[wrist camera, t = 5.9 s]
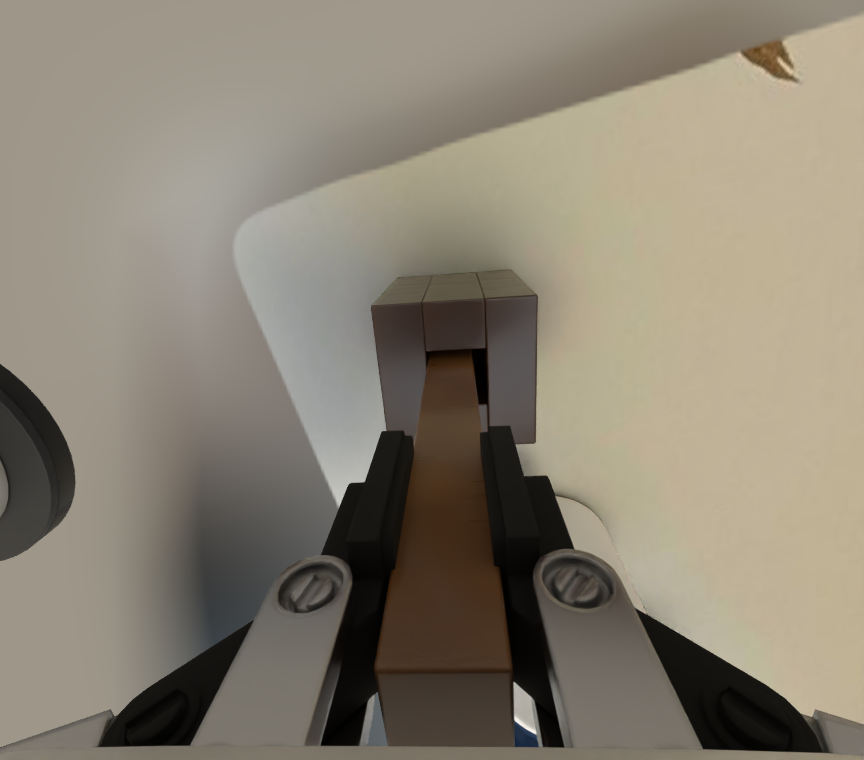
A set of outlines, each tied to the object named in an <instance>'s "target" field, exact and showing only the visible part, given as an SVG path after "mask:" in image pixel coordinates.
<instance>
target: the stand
mask: <svg viewBox="0 0 864 760" xmlns="http://www.w3.org/2000/svg"><path fill="white" fill-rule="evenodd" d="M371 312H372V320H373V328H374V336H375V343H376V351H377V359H378V367H379V375H380V383H381V391H382V398H383V406H384V414H385V422H386V430H387V431H398V430H404V433H405V436H410V435H412V437H413V444H414V438H415V433H416V427H417V421H418V416H419V410H420V404H421V399H422V393H423V388H424V382H425V376H426V371H427V365H428V360H429V354H430V351H446V350H464V349H471V351H472V359H473V366H474V374H475V381H476V389H477V397H478V404H479V412H480V419H481V427H482V432H488V426H506V425H510V427H511V431H512V434H513V438H514V442H515V444H534V443H535V442H536V386H537V312H538V296H537V294H536V293H534V292H533V291H532V290H531V289H530V288H529V287H528V286H527V285H526V284H525V283H524V282H523V281H522V280H521V279H520V278H519V277H518V276H517V275H516V274H515V273H514V272H513V271H512V270H501V271H487V272H477V273H476V272H471V273H457V274H443V275H433V276H432V275H428V276H414V277H400V278H397V279H396V280H395V281H394V282H393V283H392V284H391V285H390V286H389V287H388V289H387V290H386V291H385V292H384V293H383V294H382V295H381V296H380V297H379V298H378V299H377V300H376V301H375V302H374V303H373V304H372V305H371Z"/></svg>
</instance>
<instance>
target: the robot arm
mask: <svg viewBox="0 0 864 760" xmlns="http://www.w3.org/2000/svg"><path fill="white" fill-rule="evenodd" d="M480 449H481V458H482V466H483V475H484V484H485V492H486V501H487V509H488V518H489V526H490V535H491V543H492V552H493V561H494V566H496V567H499V568H500V571H501V578H502V586H503V594H504V601H505V609H506V616H507V624H508V631H509V639H510V647H511V654H512V662H513V678H514V682H515V683H516V684H517V685H518V686H519V687H520V688H522V689H523V690H524V691H525V692H526V693H527V694H528V695H529V696H531V697H532V711H533V717H534V722H535V728H536V734H537V739H538V745H539V747H428V746H367V745H368V740H369V734H370V727H371V722H372V717H373V711H374V694H375V693H377V692H378V690H377V685H376V680H375V674H374V663H375V658H376V652H377V646H378V641H379V635H380V629H381V624H382V618H383V613H384V607H385V601H386V596H387V590H388V584H389V579H390V573H391V570H394V569H395V566H396V560H397V554H398V548H399V542H400V536H401V530H402V524H403V517H404V511H405V505H406V499H407V493H408V487H409V481H410V475H411V469H412V463H413V457H414V444H413V437H412V435H410V436H405V433H404V430H398V431H382V432H381V435H380V438H379V441H378V444H377V447H376V450H375V453H374V456H373V459H372V462H371V465H370V468H369V471H368V474H367V477H366V480H365V482H363V483H350V484H349V485H348V487H347V489H346V492H345V494H344V497H343V500H342V502H341V505H340V507H339V510H338V513H337V515H336V518H335V520H334V523H333V525H332V528H331V531H330V533H329V536H328V538H327V541H326V543H325V546H324V548H323V551H322V554H321V555H320V556H312V557H309V558H306V559H303V560H300V561H298V562H297V563H295V564H293V565H291V566H290V567H288V568H287V569H286V570H285V571H283V572H282V573H281V574H280V575H279V576H278V577H277V579H276V580H275V582H274V583H273V585H272V586H271V588H270V590H269V592H268V594H267V596H266V598H265V600H264V602H263V604H262V606H261V608H260V610H259V612H258V613H257V615H256V618H255V619H254V620H253V621H251V622H250V623H248V624H247V625H245V626H244V627H242V628H241V629H239V630H238V631H236V632H234V633H233V634H231V635H230V636H228V637H227V638H225V639H223V640H222V641H220V642H219V643H217V644H216V645H214V646H212V647H211V648H209V649H208V650H206V651H205V652H203V653H201V654H200V655H198V656H197V657H195V658H194V659H192V660H191V661H189V662H187V663H186V664H184V665H183V666H181V667H180V668H178V669H177V670H175V671H173V672H172V673H170V674H169V675H167V676H166V677H164V678H162V679H161V680H159V681H158V682H156V683H155V684H153V685H152V686H150V687H149V688H147V689H146V690H145V691H143V692H142V693H141V694H139V695H138V696H137V697H135V698H134V699H133V700H132V701H131V702H130V703H129V704H128V705H127V706H126V707H125V708H124V709H123V710H122V711H121V712H120V713H119V715H117V716H114V715H113V713H112V711H111V710H107V711H104V712H102V713H99V714H96V715H93V716H90V717H87V718H84V719H81V720H78V721H76V722H72V723H70V724H67V725H64V726H61V727H58V728H55V729H52V730H50V731H46V732H44V733H40V734H38V735H35V736H32V737H29V738H26V739H23V740H20V741H18V742H15V743H11V744H9V745H6V746H3V747H0V760H864V725H863V724H860V723H857V722H854V721H851V720H847V719H844V718H841V717H838V716H834V715H831V714H828V713H825V712H822V711H818V710H815V712H814V714H813V717H810V716H806V715H803V714H800V713H799V712H798V711H797V710H796V709H795V708H794V707H793V706H792V705H791V704H790V703H789V702H788V701H787V700H786V699H785V698H784V697H782V696H781V695H779V694H778V693H777V692H775V691H774V690H772V689H771V688H770V687H768V686H767V685H765V684H764V683H762V682H760V681H758V680H757V679H755V678H753V677H752V676H750V675H748V674H747V673H745V672H743V671H741V670H740V669H738V668H736V667H735V666H733V665H731V664H730V663H728V662H726V661H725V660H723V659H721V658H719V657H718V656H716V655H714V654H713V653H711V652H709V651H708V650H706V649H704V648H702V647H701V646H699V645H697V644H696V643H694V642H692V641H691V640H689V639H687V638H686V637H684V636H682V635H680V634H679V633H677V632H675V631H674V630H672V629H670V628H669V627H667V626H665V625H663V624H662V623H660V622H658V621H657V620H655V619H653V618H652V617H650V616H648V615H647V614H645V613H643V612H641V611H640V610H638V609H636V608H635V607H634V606H633V604H632V602H631V599H630V597H629V595H628V593H627V591H626V589H625V587H624V585H623V583H622V581H621V579H620V577H619V576H618V574H617V573H616V572H615V570H614V569H613V568H612V567H611V566H610V565H609V564H608V563H606V562H605V561H604V560H603V559H601V558H599V557H597V556H595V555H593V554H591V553H588V552H584V551H581V550H575V549H574V546H573V543H572V540H571V538H570V535H569V532H568V529H567V527H566V524H565V521H564V518H563V516H562V513H561V510H560V507H559V505H558V502H557V499H556V496H555V494H554V491H553V488H552V486H551V483H550V480H549V478H548V476H524V475H523V471H522V468H521V464H520V460H519V456H518V453H517V449H516V445H515V442H514V438H513V434H512V431H511V427H510V425H506V426H488V432H480ZM7 501H8V480H7V476H6V472H5V469H4V467H3V464H2V462H1V460H0V517H1V516H2V514H3V512H4V511H5V509H6V505H7Z"/></svg>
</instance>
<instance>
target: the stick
mask: <svg viewBox="0 0 864 760" xmlns="http://www.w3.org/2000/svg"><path fill="white" fill-rule="evenodd" d="M480 432H482V427H481V419H480V412H479V404H478V397H477V389H476V381H475V374H474V366H473V359H472V351H471V349H464V350H446V351H430V354H429V360H428V365H427V371H426V376H425V382H424V388H423V393H422V399H421V404H420V410H419V416H418V421H417V427H416V433H415V438H414V457H413V463H412V469H411V475H410V481H409V487H408V493H407V499H406V505H405V511H404V517H403V524H402V530H401V536H400V542H399V548H398V554H397V560H396V566H395V569H394V570H391V573H390V579H389V584H388V590H387V596H386V601H385V607H384V613H383V618H382V624H381V629H380V635H379V641H378V646H377V652H376V658H375V663H374V674H375V680H376V685H377V690H378V695H379V701H380V706H381V711H382V717H383V722H384V727H385V733H386V738H387V743H388V746H428V747H515V726H514V678H513V662H512V654H511V647H510V639H509V631H508V624H507V616H506V609H505V601H504V594H503V586H502V578H501V571H500V568H499V567H496V566H494V561H493V552H492V543H491V535H490V526H489V518H488V509H487V501H486V492H485V484H484V475H483V466H482V458H481V449H480Z"/></svg>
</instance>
